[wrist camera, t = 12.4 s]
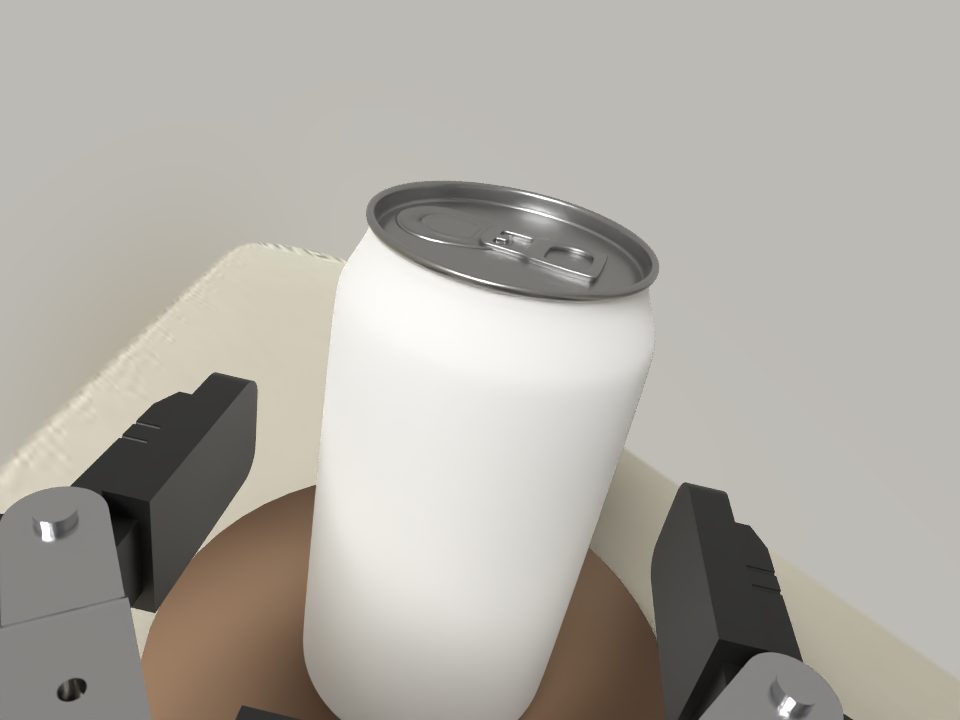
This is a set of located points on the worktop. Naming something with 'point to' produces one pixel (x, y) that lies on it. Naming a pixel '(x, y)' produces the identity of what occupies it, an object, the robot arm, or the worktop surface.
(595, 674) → the disc
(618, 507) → the worktop surface
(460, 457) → the can
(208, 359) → the worktop surface
